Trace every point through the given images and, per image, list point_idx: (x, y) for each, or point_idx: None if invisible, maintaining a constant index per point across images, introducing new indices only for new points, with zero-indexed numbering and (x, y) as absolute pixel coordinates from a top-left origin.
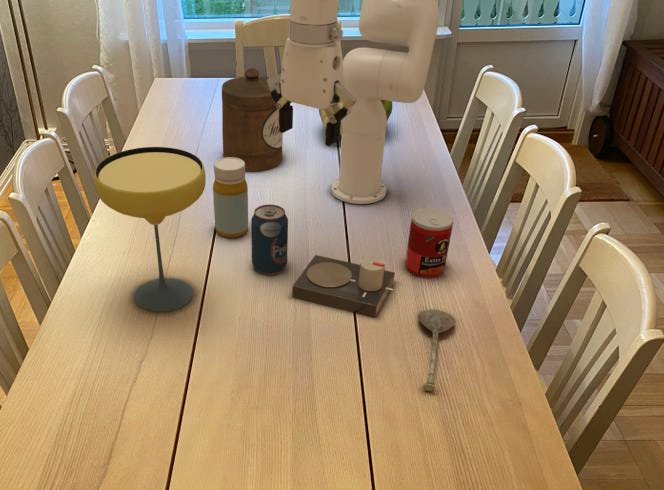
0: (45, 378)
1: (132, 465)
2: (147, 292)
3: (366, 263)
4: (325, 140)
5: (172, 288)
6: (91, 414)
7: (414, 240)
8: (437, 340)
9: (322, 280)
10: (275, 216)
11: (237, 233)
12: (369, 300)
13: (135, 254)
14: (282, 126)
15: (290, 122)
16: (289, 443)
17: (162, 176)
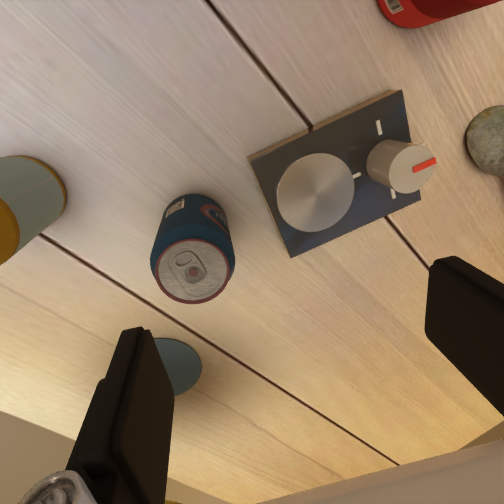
0: (215, 481)
1: (347, 462)
2: None
3: (401, 178)
4: (440, 350)
5: (165, 366)
6: (282, 468)
7: (449, 9)
8: None
9: (319, 216)
10: (212, 268)
11: (63, 205)
12: (406, 197)
13: (27, 354)
14: (169, 425)
15: (150, 374)
16: (430, 382)
17: None
